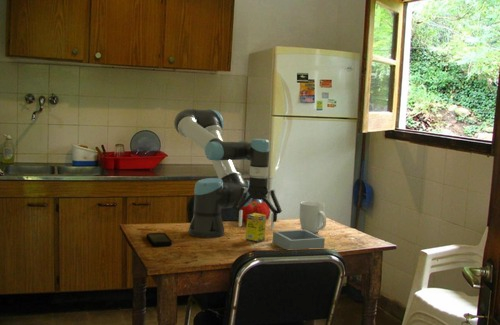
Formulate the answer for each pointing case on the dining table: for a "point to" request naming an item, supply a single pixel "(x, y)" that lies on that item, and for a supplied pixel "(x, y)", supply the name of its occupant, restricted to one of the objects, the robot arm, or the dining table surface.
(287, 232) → the bin
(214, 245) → the dining table surface
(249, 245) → the dining table surface
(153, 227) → the dining table surface
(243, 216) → the tomato
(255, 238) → the supplement box
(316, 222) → the mug
